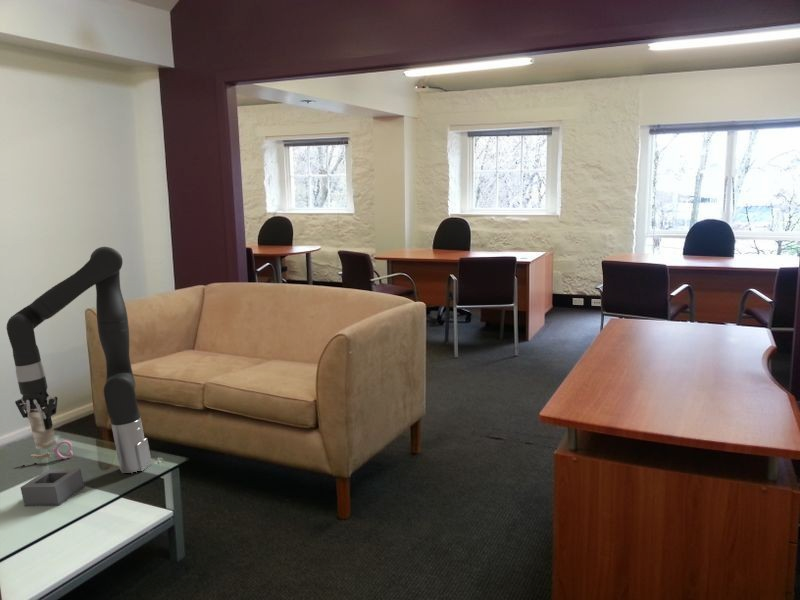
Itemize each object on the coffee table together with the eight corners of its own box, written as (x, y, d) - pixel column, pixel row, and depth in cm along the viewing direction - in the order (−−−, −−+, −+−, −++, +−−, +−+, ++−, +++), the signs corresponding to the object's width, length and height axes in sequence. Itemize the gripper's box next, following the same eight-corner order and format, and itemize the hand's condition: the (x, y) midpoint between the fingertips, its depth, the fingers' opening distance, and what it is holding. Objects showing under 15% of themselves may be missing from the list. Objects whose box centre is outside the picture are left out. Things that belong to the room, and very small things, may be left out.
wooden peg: (56, 443, 204) (48, 407, 202) (47, 448, 200) (39, 412, 198) (45, 443, 205) (37, 408, 202) (36, 449, 201) (28, 412, 199)
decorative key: (20, 473, 231) (76, 455, 234) (18, 475, 230) (75, 456, 233) (12, 457, 229) (69, 438, 233) (11, 458, 228) (68, 439, 231)
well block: (84, 487, 206) (80, 468, 205) (59, 505, 194) (55, 486, 193) (51, 487, 208) (47, 469, 207) (24, 506, 196) (20, 487, 195)
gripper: (59, 372, 201) (70, 424, 204) (20, 374, 203) (31, 425, 206) (42, 379, 193) (53, 433, 196) (2, 382, 196) (14, 434, 199)
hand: (42, 429), depth 201 cm, fingers closed on wooden peg, 4 cm apart
